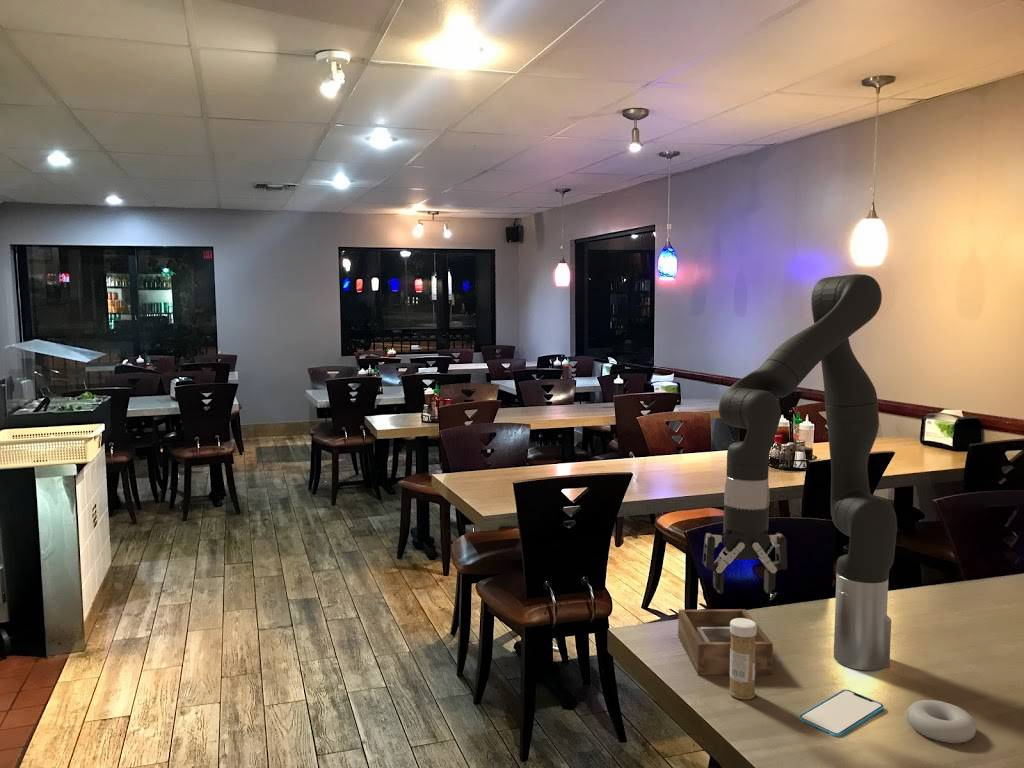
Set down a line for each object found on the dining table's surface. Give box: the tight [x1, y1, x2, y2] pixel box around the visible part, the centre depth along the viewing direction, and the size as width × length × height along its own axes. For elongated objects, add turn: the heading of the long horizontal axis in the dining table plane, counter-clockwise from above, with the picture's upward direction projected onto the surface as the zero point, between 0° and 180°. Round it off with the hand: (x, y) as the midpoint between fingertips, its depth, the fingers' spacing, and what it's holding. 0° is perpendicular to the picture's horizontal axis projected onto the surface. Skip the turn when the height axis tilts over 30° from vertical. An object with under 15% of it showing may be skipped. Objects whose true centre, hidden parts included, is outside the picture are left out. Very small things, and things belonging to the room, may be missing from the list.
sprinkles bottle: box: [728, 618, 758, 701], centre depth 137 cm, size 5×5×14 cm
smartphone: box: [798, 689, 885, 738], centre depth 131 cm, size 8×1×15 cm
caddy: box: [677, 608, 774, 676], centre depth 154 cm, size 14×17×6 cm
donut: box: [906, 699, 977, 744], centre depth 126 cm, size 10×4×10 cm
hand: (743, 591), depth 136 cm, fingers open, 8 cm apart
